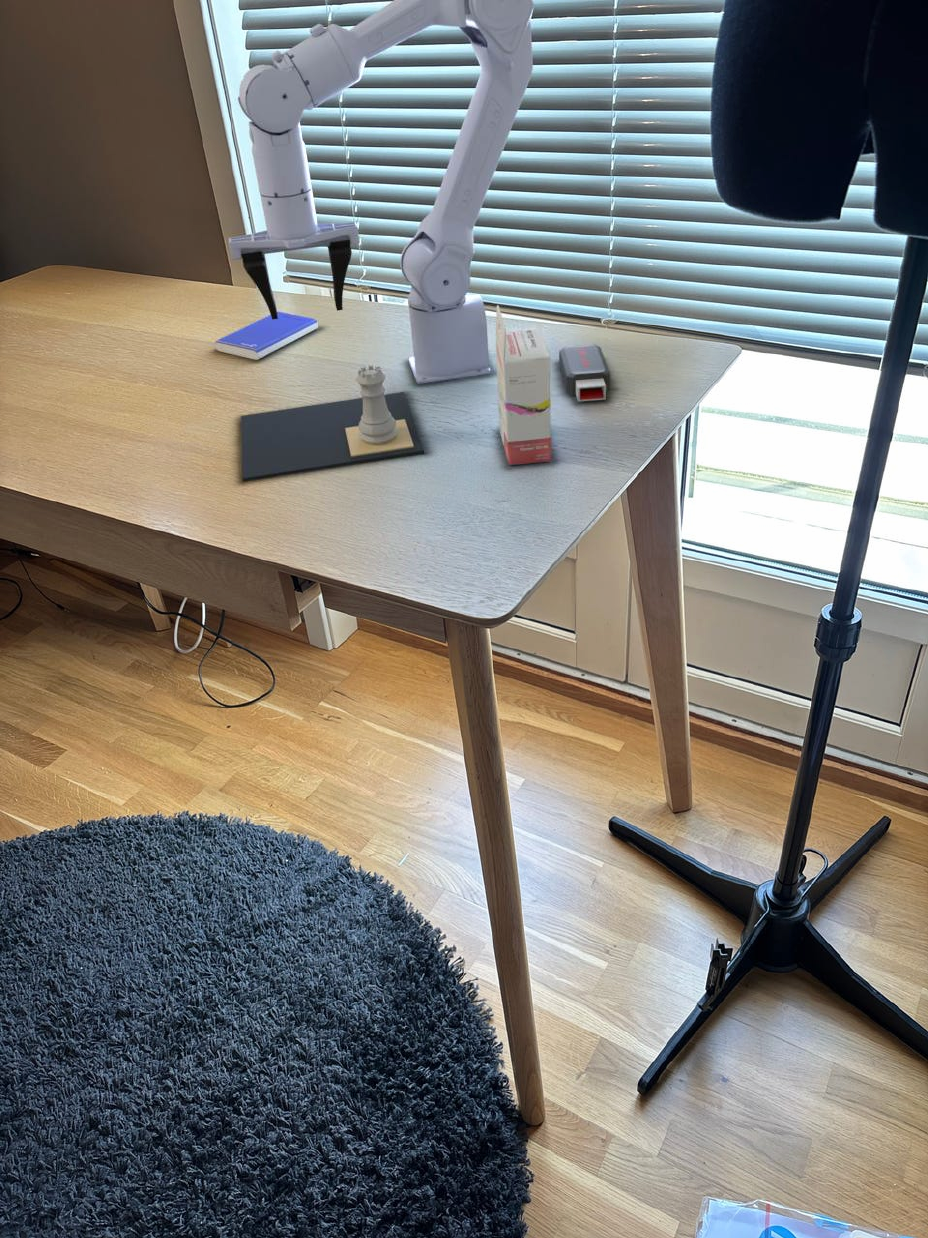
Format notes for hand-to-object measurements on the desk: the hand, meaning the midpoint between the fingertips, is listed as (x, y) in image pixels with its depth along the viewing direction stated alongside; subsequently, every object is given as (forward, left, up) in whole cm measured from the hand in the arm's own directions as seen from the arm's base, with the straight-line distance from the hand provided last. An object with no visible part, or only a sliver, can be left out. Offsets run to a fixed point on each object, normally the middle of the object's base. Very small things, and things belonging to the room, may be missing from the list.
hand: (307, 311), depth 114 cm
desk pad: (0, +12, -10) cm, 16 cm away
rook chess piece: (-6, +16, -10) cm, 19 cm away
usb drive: (-32, +8, -11) cm, 35 cm away
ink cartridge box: (-21, +22, -11) cm, 32 cm away
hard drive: (+6, -21, -11) cm, 24 cm away
